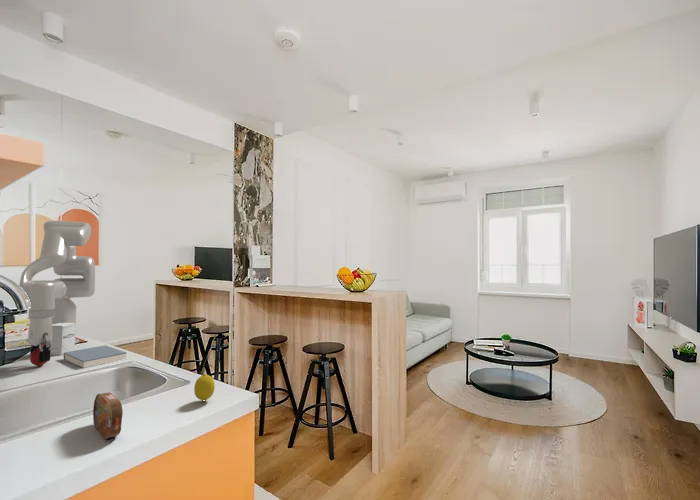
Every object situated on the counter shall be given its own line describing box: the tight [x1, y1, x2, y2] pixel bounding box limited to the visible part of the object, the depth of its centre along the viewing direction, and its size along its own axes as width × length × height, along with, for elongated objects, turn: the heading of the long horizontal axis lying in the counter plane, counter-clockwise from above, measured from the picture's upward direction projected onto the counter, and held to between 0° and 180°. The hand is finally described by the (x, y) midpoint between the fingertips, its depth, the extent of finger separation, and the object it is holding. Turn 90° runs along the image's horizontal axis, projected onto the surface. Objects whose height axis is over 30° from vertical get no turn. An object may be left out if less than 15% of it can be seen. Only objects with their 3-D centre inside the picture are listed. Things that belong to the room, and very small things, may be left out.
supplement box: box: [50, 322, 77, 356], centre depth 151 cm, size 7×7×13 cm
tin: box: [92, 391, 124, 440], centre depth 84 cm, size 15×3×8 cm, turn 48°
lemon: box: [194, 373, 216, 401], centre depth 102 cm, size 6×6×8 cm
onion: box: [29, 346, 52, 368], centre depth 132 cm, size 6×6×8 cm
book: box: [63, 345, 127, 369], centre depth 143 cm, size 20×15×3 cm
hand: (40, 359), depth 132 cm, fingers open, 9 cm apart
